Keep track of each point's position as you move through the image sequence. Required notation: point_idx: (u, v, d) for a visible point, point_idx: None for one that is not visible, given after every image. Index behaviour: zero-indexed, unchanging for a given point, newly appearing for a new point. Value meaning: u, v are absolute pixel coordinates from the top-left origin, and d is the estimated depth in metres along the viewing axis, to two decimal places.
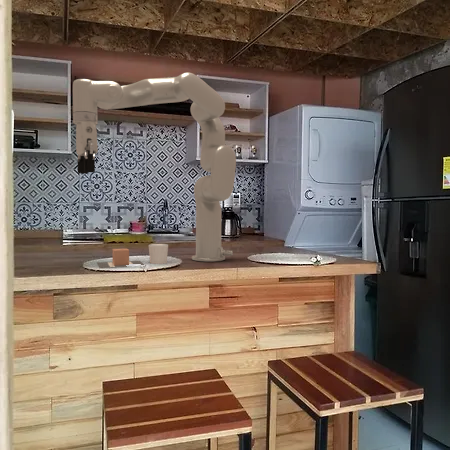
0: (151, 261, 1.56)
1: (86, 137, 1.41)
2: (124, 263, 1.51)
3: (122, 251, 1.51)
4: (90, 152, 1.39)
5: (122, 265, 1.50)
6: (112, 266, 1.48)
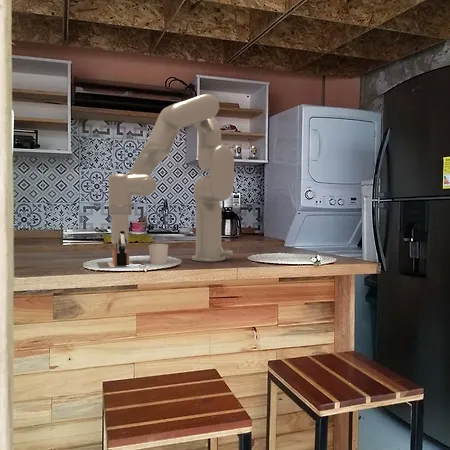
0: (151, 261, 1.56)
1: None
2: None
3: None
4: None
5: (122, 265, 1.50)
6: (112, 266, 1.48)
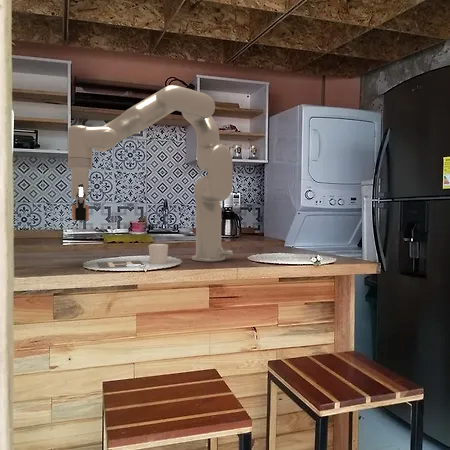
0: (151, 261, 1.56)
1: None
2: None
3: None
4: None
5: (122, 265, 1.50)
6: (112, 266, 1.48)
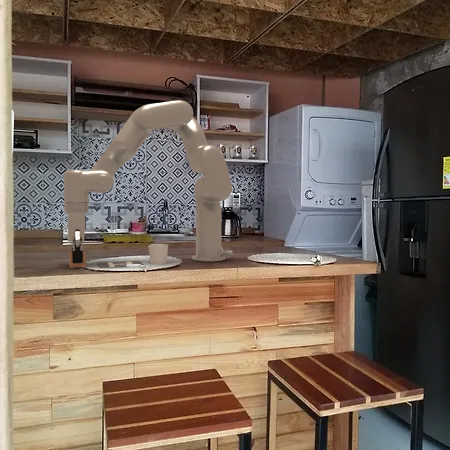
0: (151, 261, 1.56)
1: None
2: None
3: None
4: None
5: (122, 265, 1.50)
6: (112, 266, 1.48)
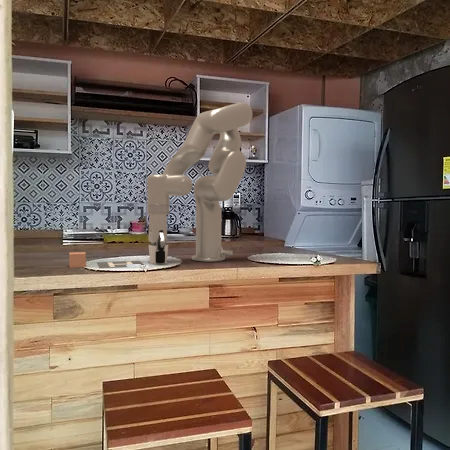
0: (151, 261, 1.56)
1: None
2: None
3: (78, 255, 1.46)
4: None
5: (122, 265, 1.50)
6: (112, 266, 1.48)
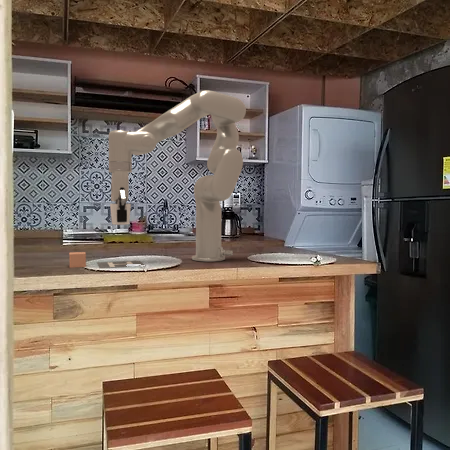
0: (112, 220, 1.50)
1: None
2: None
3: (78, 255, 1.46)
4: None
5: (122, 265, 1.50)
6: (112, 266, 1.48)
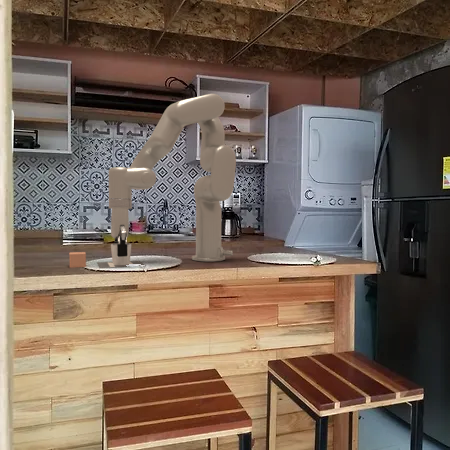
0: (113, 261, 1.51)
1: None
2: None
3: (78, 255, 1.46)
4: None
5: (122, 265, 1.50)
6: (112, 266, 1.48)
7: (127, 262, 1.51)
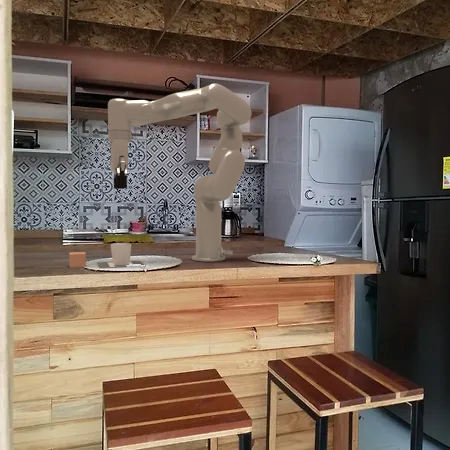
0: (113, 261, 1.51)
1: None
2: None
3: (78, 255, 1.46)
4: None
5: (122, 265, 1.50)
6: (112, 266, 1.48)
7: (127, 262, 1.51)
